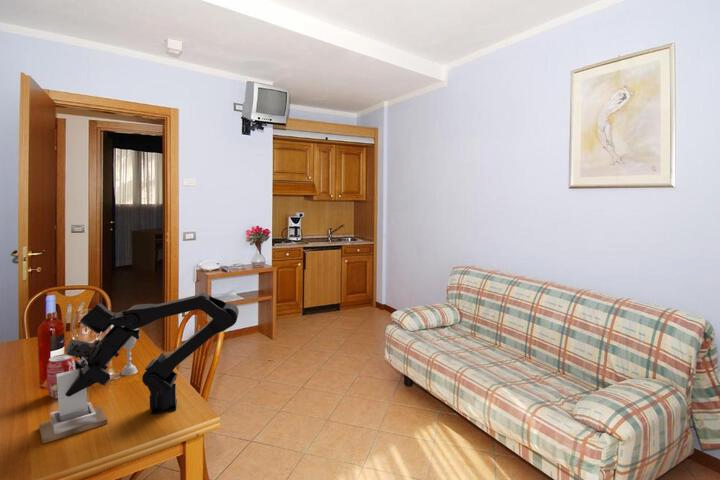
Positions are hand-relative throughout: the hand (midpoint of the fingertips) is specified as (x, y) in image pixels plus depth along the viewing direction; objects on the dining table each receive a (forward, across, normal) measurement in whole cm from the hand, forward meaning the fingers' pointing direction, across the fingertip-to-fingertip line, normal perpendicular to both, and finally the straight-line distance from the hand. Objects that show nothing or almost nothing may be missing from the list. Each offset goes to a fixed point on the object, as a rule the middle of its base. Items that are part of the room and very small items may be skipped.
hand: (66, 393), depth 106 cm
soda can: (+6, -24, +8) cm, 25 cm away
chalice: (-8, -28, +22) cm, 36 cm away
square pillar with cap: (+4, 0, +6) cm, 7 cm away
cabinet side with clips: (+6, 0, +8) cm, 10 cm away
